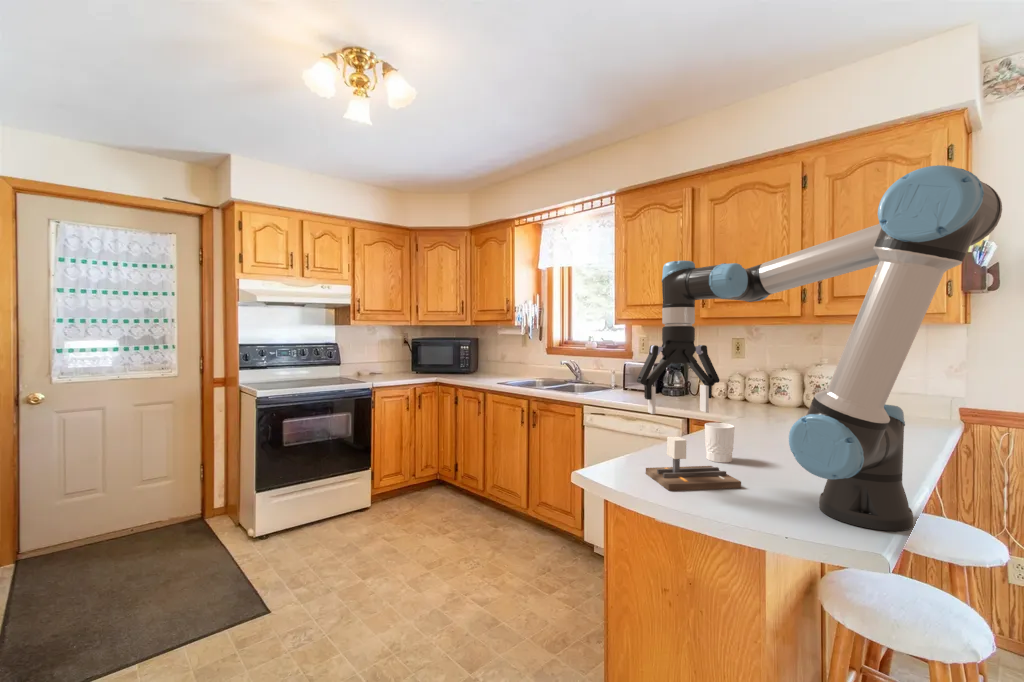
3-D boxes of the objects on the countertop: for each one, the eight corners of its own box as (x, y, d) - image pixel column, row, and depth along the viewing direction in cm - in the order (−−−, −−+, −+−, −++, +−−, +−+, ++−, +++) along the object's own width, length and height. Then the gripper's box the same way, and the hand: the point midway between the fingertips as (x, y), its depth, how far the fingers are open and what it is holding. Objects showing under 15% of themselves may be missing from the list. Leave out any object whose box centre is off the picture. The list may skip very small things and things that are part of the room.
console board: (741, 487, 112) (741, 477, 112) (668, 490, 110) (668, 479, 110) (711, 471, 125) (711, 462, 125) (645, 473, 123) (645, 464, 122)
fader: (685, 475, 115) (686, 440, 115) (674, 475, 114) (674, 440, 114) (678, 470, 119) (678, 436, 119) (666, 470, 118) (667, 436, 118)
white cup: (728, 456, 140) (728, 422, 140) (738, 464, 132) (739, 428, 132) (700, 455, 141) (701, 422, 140) (708, 463, 133) (709, 427, 133)
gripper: (717, 325, 121) (717, 408, 121) (623, 325, 118) (623, 411, 118) (735, 325, 114) (734, 413, 114) (635, 325, 110) (635, 416, 111)
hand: (678, 412), depth 116 cm, fingers open, 13 cm apart
